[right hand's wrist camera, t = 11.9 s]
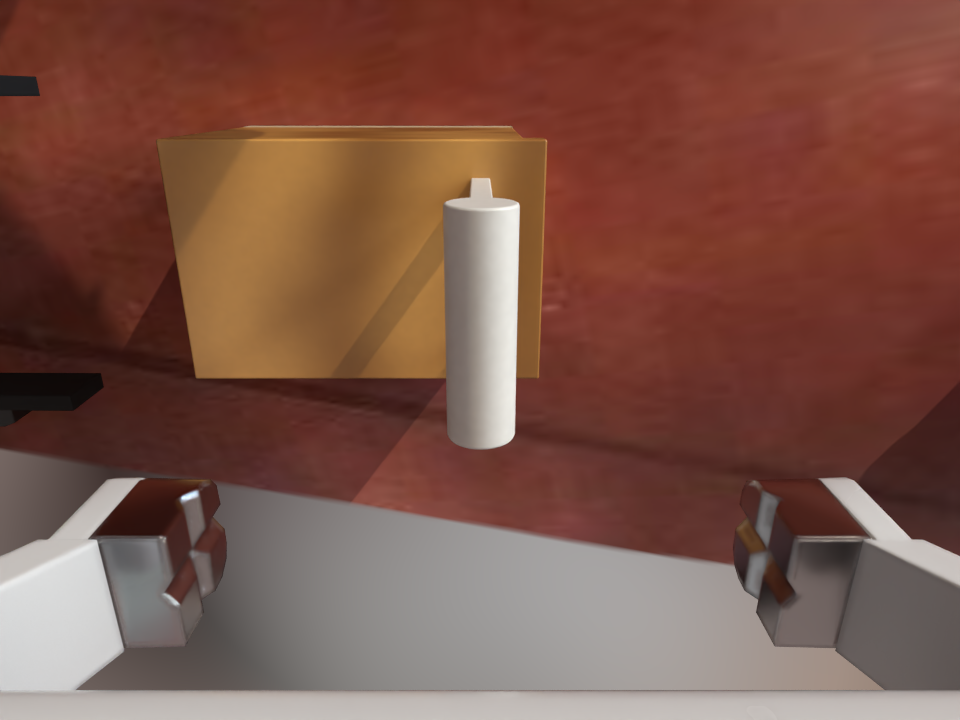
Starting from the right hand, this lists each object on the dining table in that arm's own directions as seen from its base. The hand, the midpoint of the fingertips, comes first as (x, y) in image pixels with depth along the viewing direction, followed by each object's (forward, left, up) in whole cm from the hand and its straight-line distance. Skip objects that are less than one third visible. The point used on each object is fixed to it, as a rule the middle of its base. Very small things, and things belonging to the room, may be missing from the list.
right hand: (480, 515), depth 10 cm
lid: (+2, +4, -17) cm, 18 cm away
